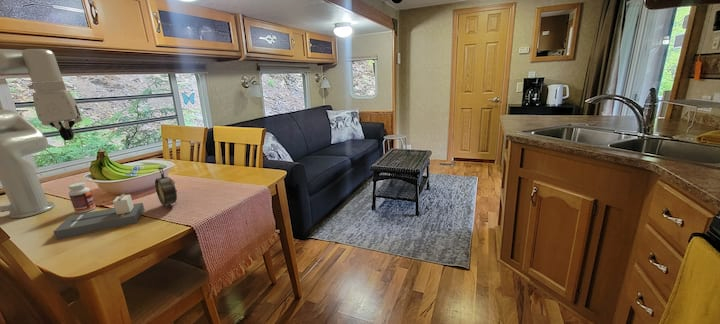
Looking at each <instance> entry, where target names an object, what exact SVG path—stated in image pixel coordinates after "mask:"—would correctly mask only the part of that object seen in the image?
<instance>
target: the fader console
mask: <svg viewBox="0 0 720 324" xmlns="http://www.w3.org/2000/svg"><path fill="white" fill-rule="evenodd" d="M133 205H134V207H133V209H132V210H131V212H128V213H123V214H118V215H117V214H116V211H115V208H114V207H111V208H107V209H106V208H105V209H100V210H95V211H88V212H84V213H77V214H73V215H70V216H68V217H67V218H66V219H65V220H64V221H63V222H62V223H61V224H59V226H58V227H56V229H54V230H53V231H52V232H53V234H54V236H55V239H56V240H61V239H66V238H70V237H76V236H81V235H86V234H90V233H95V232H101V231H105V230H110V229H115V228H120V227H124V226H125V227H126V226H129V225H130V226H131V225H136V224H138V222H139V220H140V218H141V217H142V215H143V213H144V212H145V206H144V203H143V202H139V203H133Z"/></svg>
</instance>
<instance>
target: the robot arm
mask: <svg viewBox="0 0 720 324" xmlns="http://www.w3.org/2000/svg"><path fill="white" fill-rule="evenodd" d="M0 74H2V75H4V74H9V75H10V74H28V75H29V77H30V78H29V79H31V84H29V85H27V86H28V89H29V90H34V92H32V98H33V99H32V101H33V105H34V109H35V113H36V116H37V118H38V120H39V122H41V125H43V126H50V127H52V128H54V129H56V131H57V130H58V131H59V134H60V137H61V139H63V141H71V140H74V137H75V134H74V132H73V126H75V124H78V123H81V122H82V121H83V118H82V117H81V112H80V108H79V107H78V104H77V102H76V100H75V99H74V97H73V95H72V93H71V92H70V90H67V88H66V85H65V81H64V78H63V75H62V74H61V71H60V67H59V65H58V61H57V58H56V56H55V53H54V52H53V51H52V50H51V49H46V48H26V49H9V48H0ZM62 121H63V122H62ZM48 145H49V142H48V139H47V137H46V136H45V135H44V133H42V131H40V130H39V129H38V128H36V126H34V125H33V124H32V123H31V122H30V121H29V120H27V119H26V118H25V117H24V116H22V114H20V113H19V112H17V111H15V110H11V109H0V183H1V186H2V188H3V191H4V193H5V195H6V197H7V199H8V202H9V204H8V205H7V204H5V205H0V213H6V212H9V214H8V216H9V218H11V219H22V218H27V217H31V216H35V215H38V214H42V213H45V212H47V211H49V210H51V209H53V208H54V207H55V205H56V204H55V203H54V202H53V201H48V199H47V196H46V194H45V192H44V189H43V187H42V184H41V181H40V180H39V176H38V175H37V172H36V169H35V168H34V165H33V164H32V163H31V162H29V161H27V160H26V159H24V158H22V157H25V156H28V155H32V154H37V153H41V152H43V151H45V150H46V149H47V148H48Z"/></svg>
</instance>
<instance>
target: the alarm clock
mask: <svg viewBox="0 0 720 324" xmlns="http://www.w3.org/2000/svg"><path fill="white" fill-rule="evenodd" d="M158 171H159V172H160V176H161V177H157V178H155V182H154V185H155V191H156V194H157V197H158V200H159V202H160V204H161V206H163V207H165V206H168V208H169V209H170V210H172V209H173V208H172V206H171V205H172V204H174V203H175V204H177V200H178V199H177V198H178V193H177V192H178V190H177V189H176V185H175V184H174V183H175V182H174V181H173V179H171V177H169V176H165V174H164V170H163V168H162V167H160V166H159V167H158Z"/></svg>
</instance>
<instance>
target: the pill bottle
mask: <svg viewBox="0 0 720 324" xmlns="http://www.w3.org/2000/svg"><path fill="white" fill-rule="evenodd" d="M68 188H69V189H68V190H69V192H68V196H69V199H70V201H71V205H72V207H73V209H74V212H75V213H76V214H83V213H89V212H92V211H93V210H95V208H96V206H97V205H96V203H95V200H94V198H93V195H92V191H91V189H90V187H87V185H86V182H83V181H82V182H80V181H79V182H76V183H73V184H69V185H68Z"/></svg>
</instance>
